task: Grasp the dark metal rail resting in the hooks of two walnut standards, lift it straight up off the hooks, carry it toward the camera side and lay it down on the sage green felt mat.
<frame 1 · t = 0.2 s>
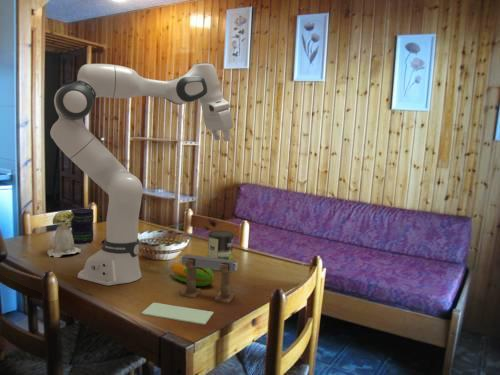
hand: (222, 140, 160), 52 cm above the table, tool tilted 20°, fingers open, 8 cm apart
standard a: (190, 293, 139), on the table
mat: (178, 313, 124), on the table
storage jar: (82, 241, 192), on the table
corn: (189, 282, 150), on the table
standard b: (224, 298, 137), on the table
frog: (64, 253, 174), on the table
rail: (208, 267, 137), point 10 cm above the table, touching standard a, standard b
coffee can: (219, 267, 168), on the table
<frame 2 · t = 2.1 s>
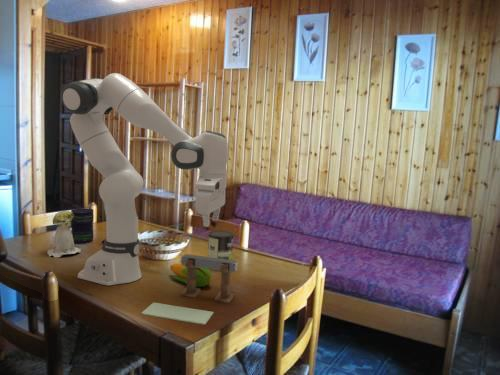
hand: (211, 223, 135), 25 cm above the table, tool pointing down, fingers open, 8 cm apart
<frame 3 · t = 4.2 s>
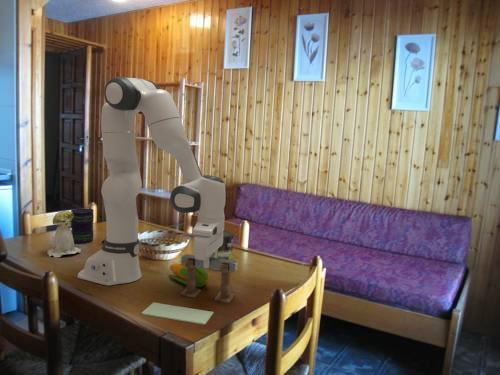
hand: (208, 265, 137), 11 cm above the table, tool pointing down, fingers closed on rail, 3 cm apart
rail: (208, 267, 137), point 10 cm above the table, touching gripper, standard a, standard b
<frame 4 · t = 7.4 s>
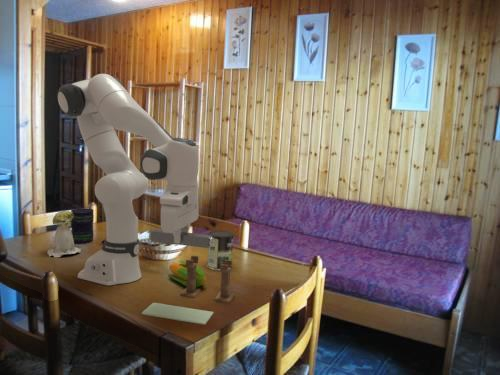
hand: (180, 241, 120), 23 cm above the table, tool pointing down, fingers closed on rail, 3 cm apart
rail: (181, 243, 121), point 22 cm above the table, touching gripper
when the fingers open (3 cm above the table, at t = 10.5 s): rail drops 2 cm, resting on mat.
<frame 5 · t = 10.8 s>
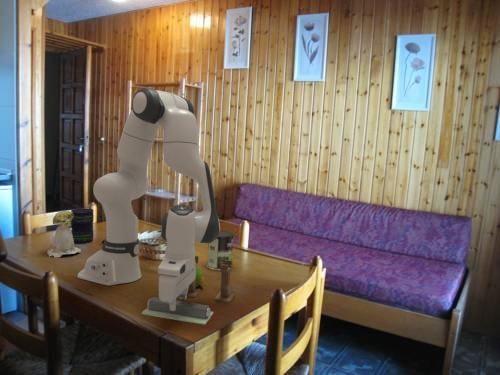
hand: (178, 304, 123), 3 cm above the table, tool pointing down, fingers open, 6 cm apart
rail: (178, 312, 123), resting on mat
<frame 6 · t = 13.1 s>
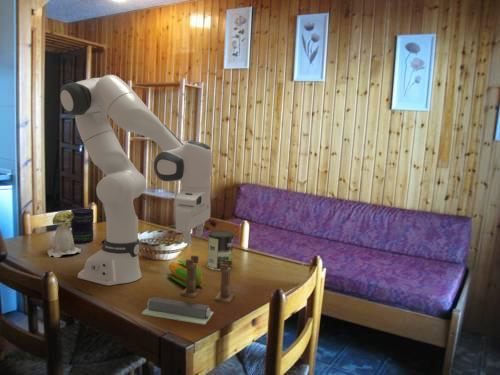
hand: (193, 239, 127), 22 cm above the table, tool pointing down, fingers open, 8 cm apart
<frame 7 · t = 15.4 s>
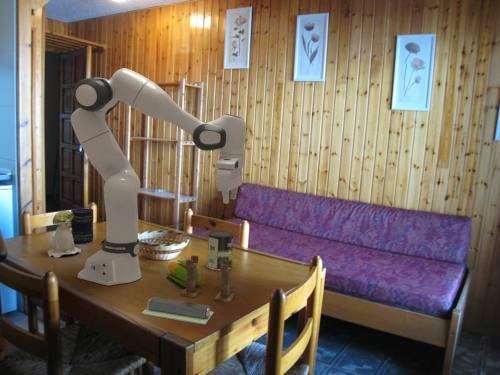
hand: (229, 201, 144), 31 cm above the table, tool pointing down, fingers open, 8 cm apart
at the end: rail inside the target area on the mat (0.1 cm from its centre), point 0.4 cm above the mat's base; rail moved 19.1 cm from its start; the gripper is holding nothing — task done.
